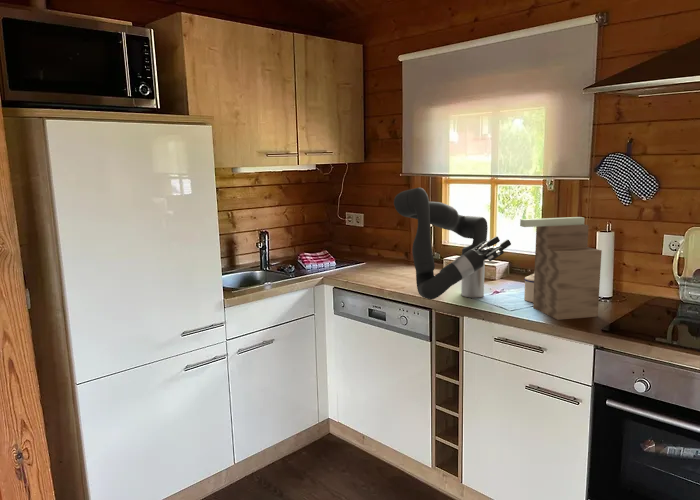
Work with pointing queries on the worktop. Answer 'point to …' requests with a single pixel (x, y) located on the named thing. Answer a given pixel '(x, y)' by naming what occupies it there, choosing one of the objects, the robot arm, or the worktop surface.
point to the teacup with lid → (529, 288)
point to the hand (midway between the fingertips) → (503, 240)
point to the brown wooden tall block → (566, 272)
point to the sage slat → (552, 221)
